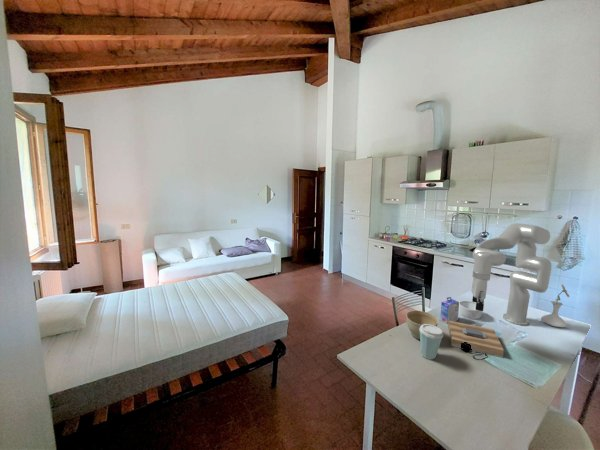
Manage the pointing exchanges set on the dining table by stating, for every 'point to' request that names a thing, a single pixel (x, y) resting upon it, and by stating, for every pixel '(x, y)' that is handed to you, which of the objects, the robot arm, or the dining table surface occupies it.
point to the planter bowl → (419, 321)
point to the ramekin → (469, 310)
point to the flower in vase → (555, 313)
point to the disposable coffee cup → (430, 340)
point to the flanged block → (474, 333)
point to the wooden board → (475, 339)
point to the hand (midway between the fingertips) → (477, 306)
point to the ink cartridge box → (449, 310)
